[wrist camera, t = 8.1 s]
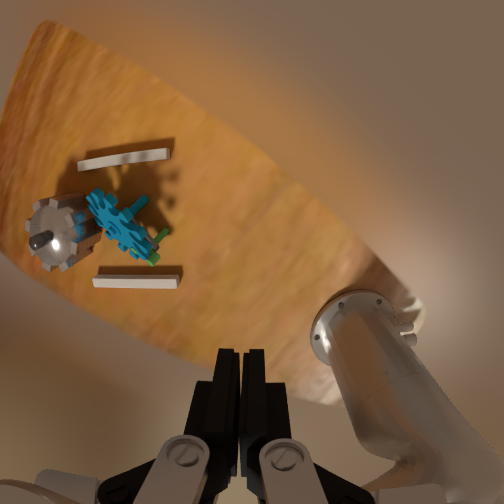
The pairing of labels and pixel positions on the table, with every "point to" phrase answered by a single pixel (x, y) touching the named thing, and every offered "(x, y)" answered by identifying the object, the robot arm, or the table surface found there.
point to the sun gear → (62, 230)
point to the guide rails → (131, 280)
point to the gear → (125, 226)
